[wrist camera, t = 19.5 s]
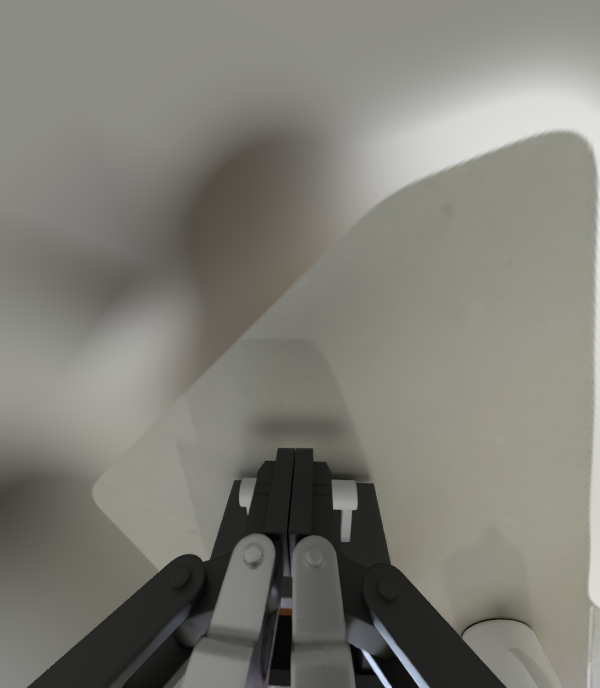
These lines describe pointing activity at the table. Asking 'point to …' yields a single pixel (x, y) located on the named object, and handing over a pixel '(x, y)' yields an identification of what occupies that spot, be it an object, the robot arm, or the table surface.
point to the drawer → (351, 536)
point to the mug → (512, 654)
